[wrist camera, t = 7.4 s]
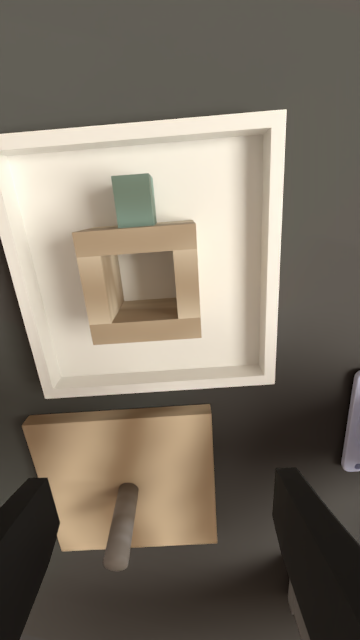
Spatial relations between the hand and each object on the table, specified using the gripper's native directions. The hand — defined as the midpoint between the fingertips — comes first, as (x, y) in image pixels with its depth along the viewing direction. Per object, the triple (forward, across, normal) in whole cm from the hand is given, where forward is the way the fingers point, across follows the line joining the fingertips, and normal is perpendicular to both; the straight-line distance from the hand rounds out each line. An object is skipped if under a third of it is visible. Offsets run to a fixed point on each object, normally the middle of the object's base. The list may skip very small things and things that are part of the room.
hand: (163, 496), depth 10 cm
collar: (+9, +1, -5) cm, 11 cm away
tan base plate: (+10, +4, +10) cm, 14 cm away
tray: (+10, +1, -5) cm, 11 cm away
